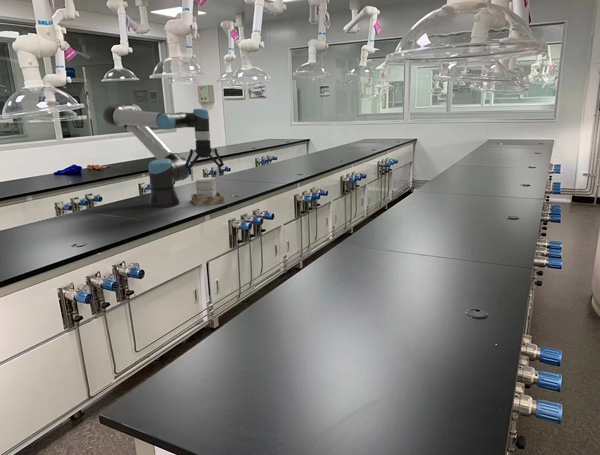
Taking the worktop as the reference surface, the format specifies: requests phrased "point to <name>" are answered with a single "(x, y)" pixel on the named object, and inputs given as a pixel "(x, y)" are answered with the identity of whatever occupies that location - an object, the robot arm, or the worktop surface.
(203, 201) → the maple tray
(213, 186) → the ink box
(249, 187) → the worktop surface
